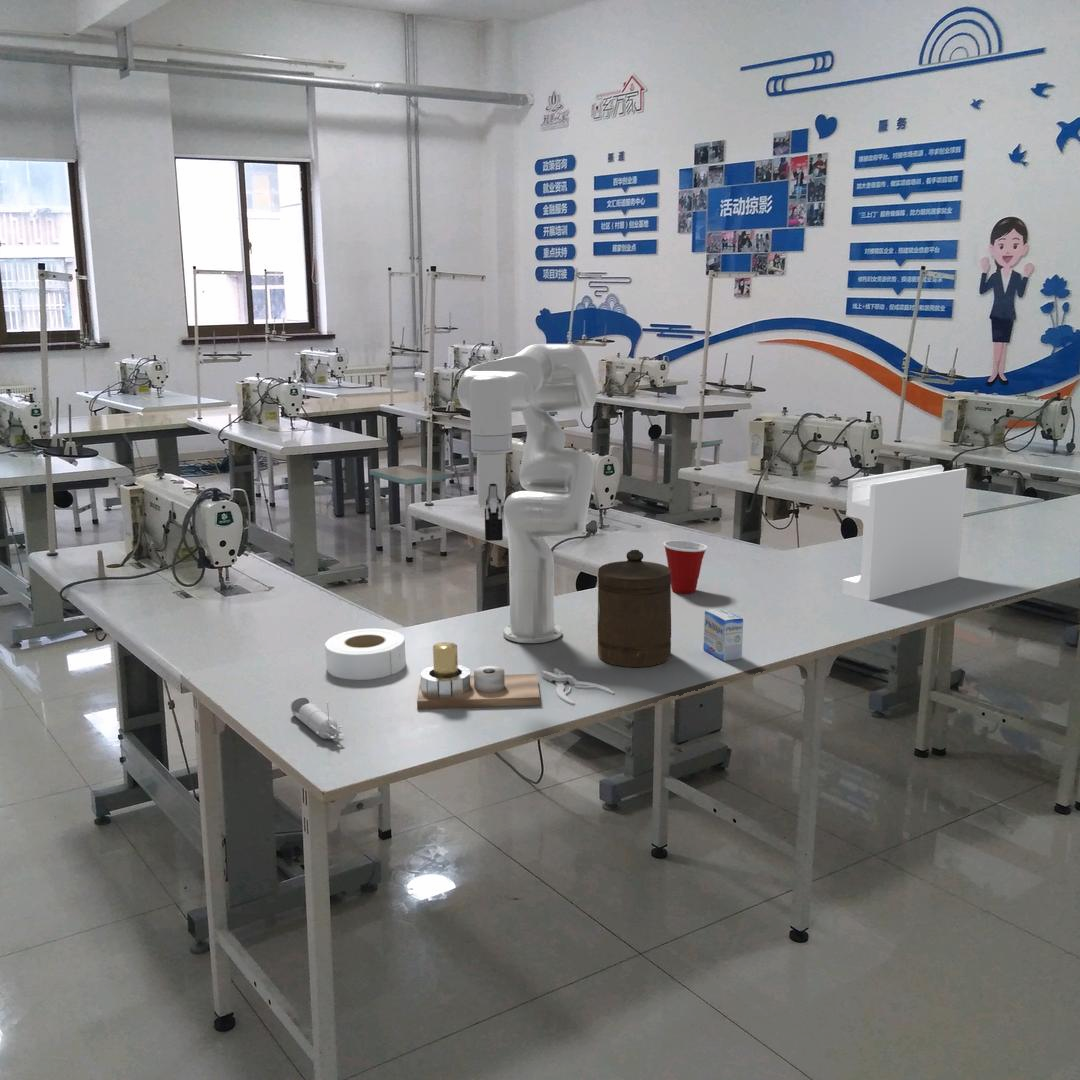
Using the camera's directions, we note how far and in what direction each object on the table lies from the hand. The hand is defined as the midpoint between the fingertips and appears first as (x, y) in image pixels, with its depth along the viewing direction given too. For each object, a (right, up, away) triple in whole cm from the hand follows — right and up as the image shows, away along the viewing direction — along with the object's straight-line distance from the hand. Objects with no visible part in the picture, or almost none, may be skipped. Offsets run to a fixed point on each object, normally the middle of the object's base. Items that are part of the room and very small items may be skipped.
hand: (493, 534), depth 199 cm
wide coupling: (-9, -28, -3) cm, 30 cm away
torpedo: (-30, -34, -17) cm, 48 cm away
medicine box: (+46, -25, +18) cm, 55 cm away
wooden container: (+28, -25, +18) cm, 41 cm away
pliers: (+14, -29, +1) cm, 33 cm away
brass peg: (-9, -28, -3) cm, 30 cm away
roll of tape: (-26, -27, +14) cm, 40 cm away
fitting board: (-3, -30, -2) cm, 30 cm away
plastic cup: (+44, -14, +63) cm, 78 cm away
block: (+99, -12, +66) cm, 119 cm away
